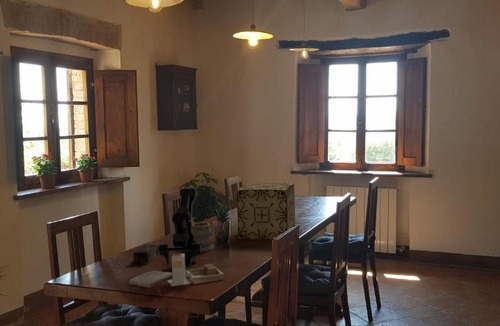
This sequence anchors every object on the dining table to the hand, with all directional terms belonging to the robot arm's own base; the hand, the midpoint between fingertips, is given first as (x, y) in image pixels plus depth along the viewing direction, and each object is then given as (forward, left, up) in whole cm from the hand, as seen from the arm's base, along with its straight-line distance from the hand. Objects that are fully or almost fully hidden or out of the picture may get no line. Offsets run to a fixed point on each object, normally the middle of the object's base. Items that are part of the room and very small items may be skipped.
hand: (178, 265), depth 225 cm
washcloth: (-9, -10, -9) cm, 16 cm away
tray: (-1, +12, -8) cm, 15 cm away
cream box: (0, 0, -7) cm, 7 cm away
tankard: (-58, +26, -8) cm, 64 cm away
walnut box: (-4, +16, -7) cm, 18 cm away
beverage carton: (-47, -6, -8) cm, 48 cm away
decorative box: (-70, +74, -8) cm, 103 cm away
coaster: (0, 0, -8) cm, 8 cm away
